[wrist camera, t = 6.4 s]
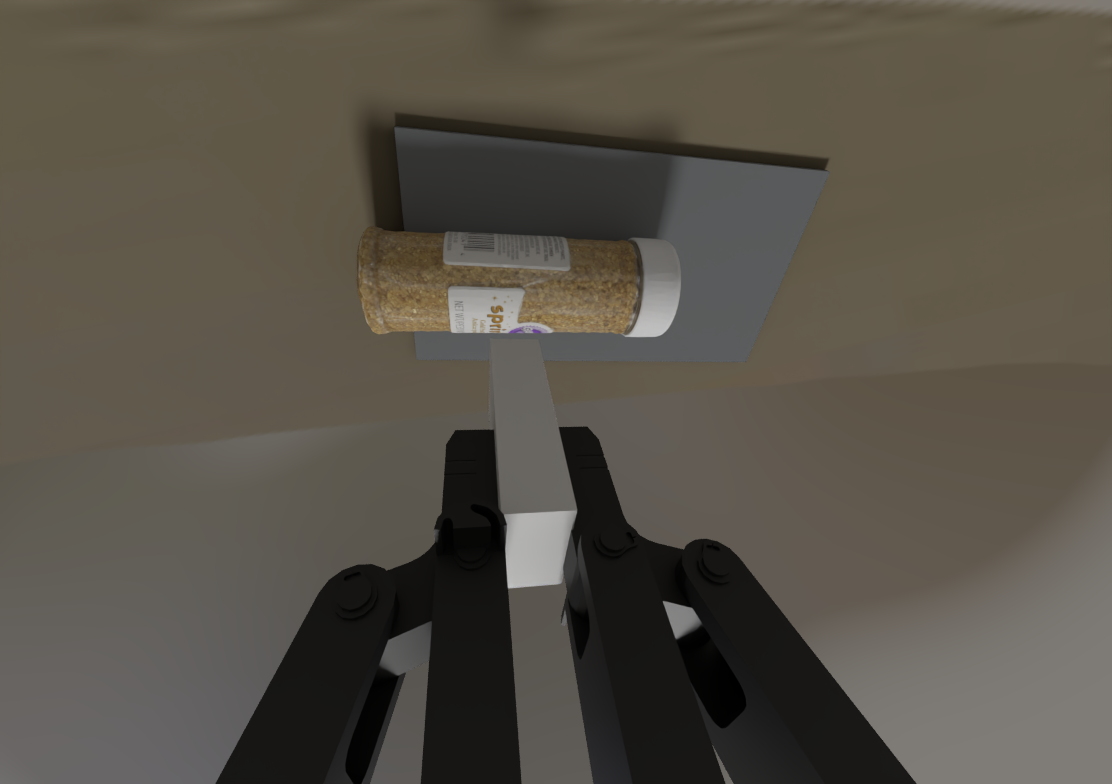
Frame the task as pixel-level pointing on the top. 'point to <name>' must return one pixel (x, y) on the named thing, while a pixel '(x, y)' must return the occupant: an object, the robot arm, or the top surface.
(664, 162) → the mat
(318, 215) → the top surface
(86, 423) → the top surface
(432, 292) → the sprinkles bottle
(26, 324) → the top surface
